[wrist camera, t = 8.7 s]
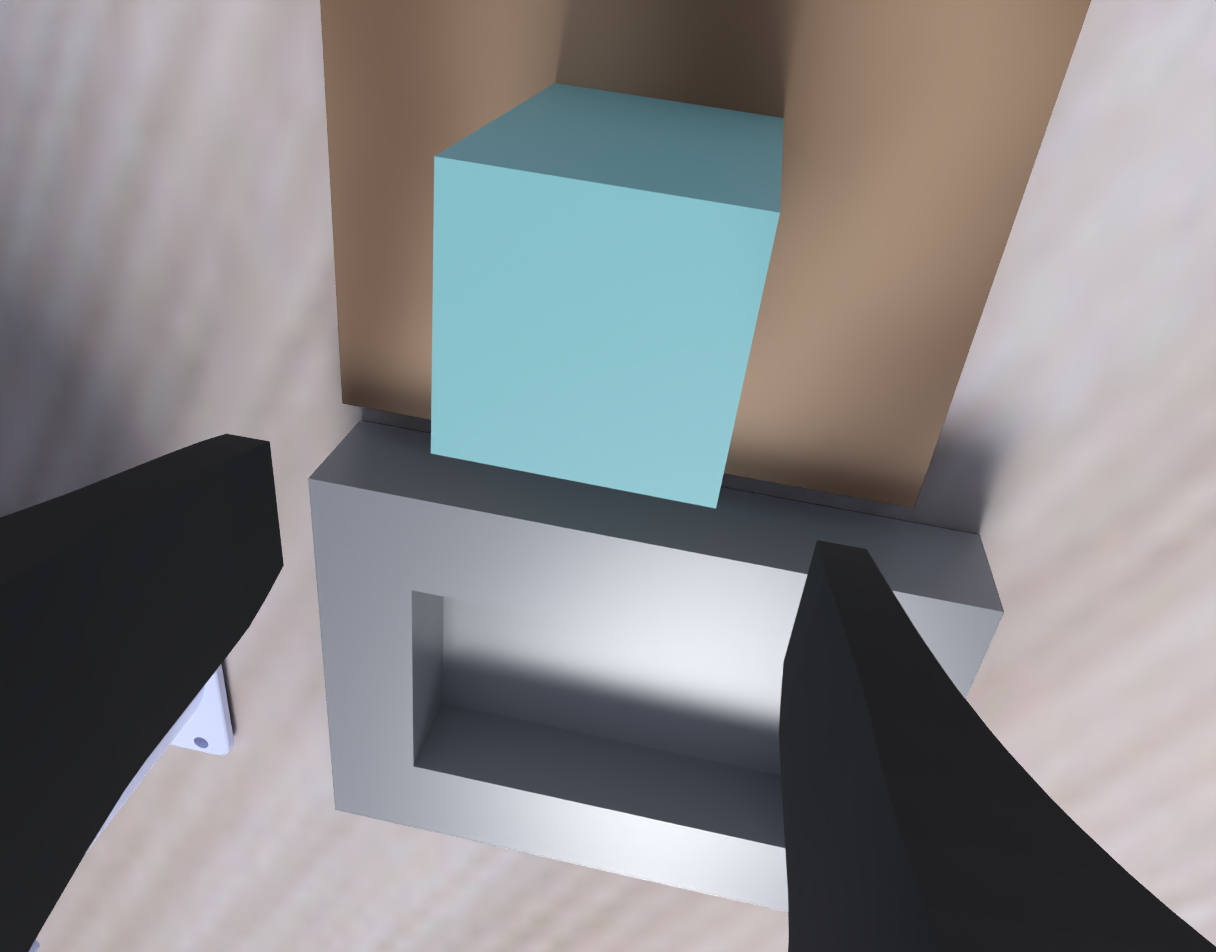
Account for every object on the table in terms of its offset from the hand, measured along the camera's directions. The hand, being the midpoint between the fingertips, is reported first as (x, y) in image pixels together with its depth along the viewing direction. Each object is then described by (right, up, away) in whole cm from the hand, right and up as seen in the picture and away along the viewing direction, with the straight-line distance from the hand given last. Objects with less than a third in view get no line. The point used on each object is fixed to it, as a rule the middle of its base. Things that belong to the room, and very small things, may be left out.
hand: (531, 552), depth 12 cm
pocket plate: (+2, -4, +14) cm, 15 cm away
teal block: (+2, +6, +7) cm, 10 cm away
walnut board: (+2, +7, +8) cm, 11 cm away
